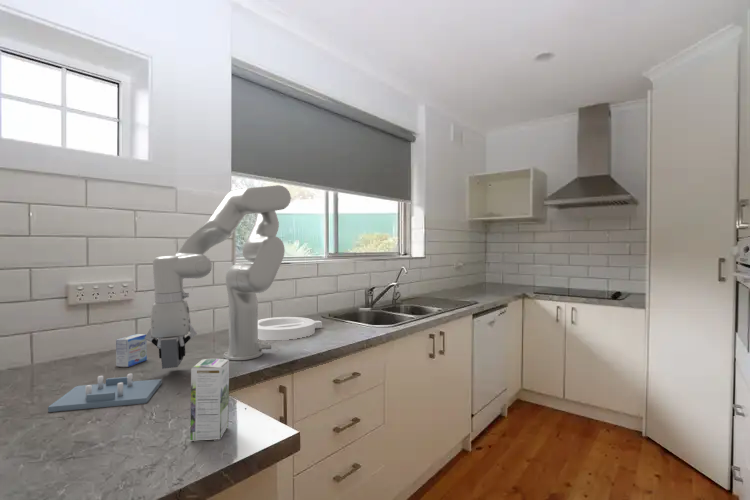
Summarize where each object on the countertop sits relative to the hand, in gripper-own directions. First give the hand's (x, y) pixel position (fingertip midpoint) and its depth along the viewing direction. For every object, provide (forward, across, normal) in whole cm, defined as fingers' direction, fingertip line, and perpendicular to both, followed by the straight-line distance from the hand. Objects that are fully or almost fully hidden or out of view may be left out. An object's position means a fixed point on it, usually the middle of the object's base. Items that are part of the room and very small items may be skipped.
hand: (172, 358), depth 117 cm
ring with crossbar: (+7, -33, -47) cm, 58 cm away
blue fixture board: (+3, +11, +16) cm, 20 cm away
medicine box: (+4, +15, -14) cm, 21 cm away
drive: (+1, 0, 0) cm, 1 cm away
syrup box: (+4, -16, +44) cm, 47 cm away
